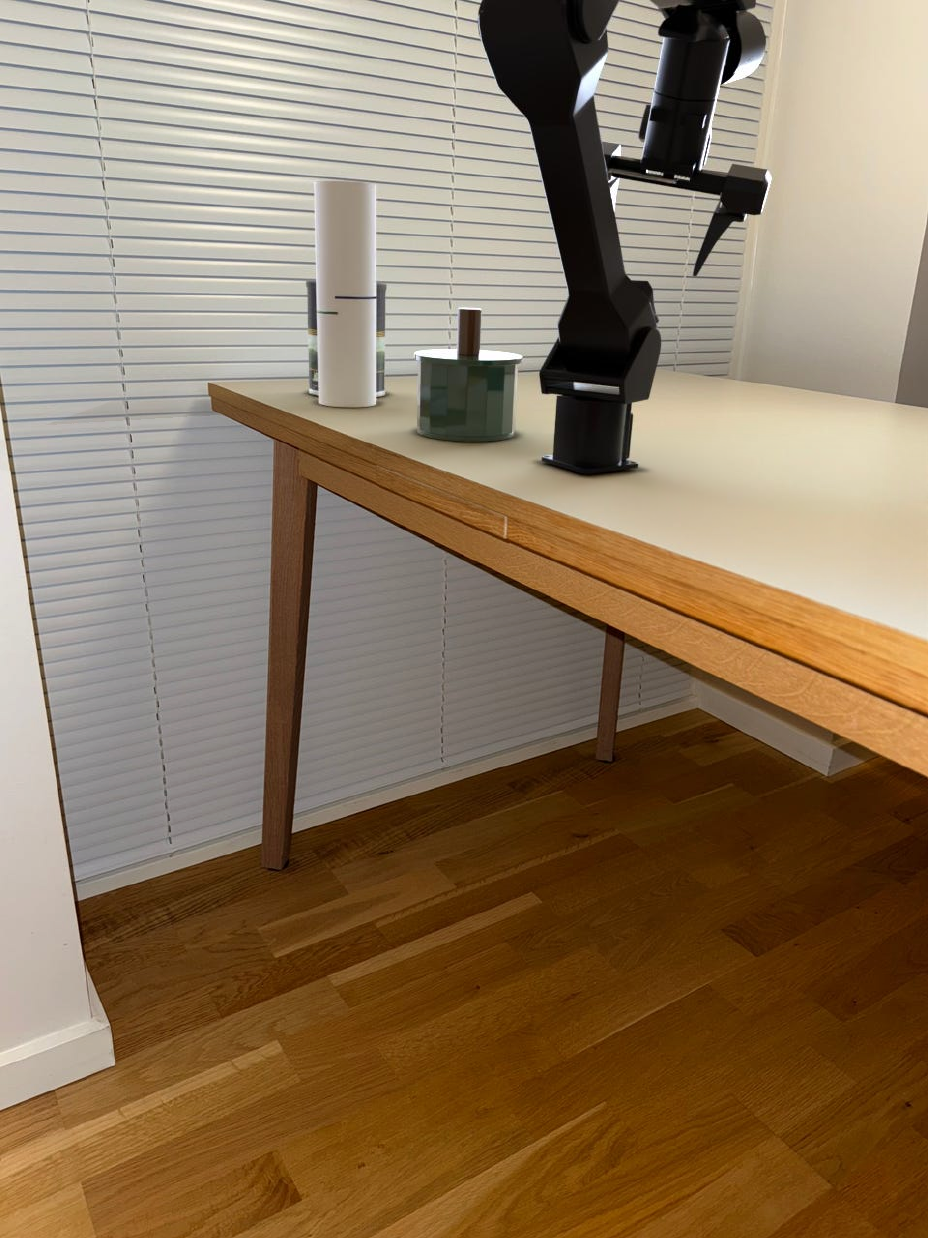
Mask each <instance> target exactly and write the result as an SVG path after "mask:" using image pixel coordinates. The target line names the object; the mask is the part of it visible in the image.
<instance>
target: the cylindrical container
mask: <svg viewBox="0 0 928 1238" xmlns="http://www.w3.org/2000/svg"><path fill="white" fill-rule="evenodd" d="M313 190H314V191H313V192H314V194H313V195H314V197H313V198H314V241H315V243H314V244H315V280H316V294H317V310H318V311H328V312H317V341H318V388H319V396H318V404H319V405H322V406H327V407H335V408H367V407H373V406H376V405H377V397H376V298H365V297H375V296H376V283H377V184H375V183H371V182H362V181H350V180H349V181H347V180H317V181H314V182H313ZM343 296H351V297H343Z"/></svg>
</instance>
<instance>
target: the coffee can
mask: <svg viewBox="0 0 928 1238" xmlns="http://www.w3.org/2000/svg"><path fill="white" fill-rule="evenodd" d="M387 285H388V284H387V283H382V282H381V283H380V282H376V296H375V297H365V298H376V398H381V397H383V396H385V395H386V388H385V387H386V294H387V293H386V291H387V287H388V286H387ZM305 287H306V289H307V294H306V295H307V340H308V345H307V346H308V379H309V380H308V384H309V385H308V386H309V389H308V393H309V394H310V395H313V396H317V397H319V388H318V341H317V312H328V311H318V310H317V294H316V279H314V280H306V281H305ZM343 297H351V296H343Z"/></svg>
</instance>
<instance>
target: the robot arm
mask: <svg viewBox="0 0 928 1238" xmlns="http://www.w3.org/2000/svg"><path fill="white" fill-rule="evenodd" d="M648 1H649V2H651V4H653V5H654V6H656V7H657V9H658V11H659V13H661V15H662V17H663V18H664V20H663V21H662V22H661V24H660V25H659V27H658V28H657V35H658V37H661V38H663V40H662V44H661V51H660V56H659V61H658V67H657V72H656V78H655V83H654V89H653V93H652V98H651V99H652V100H651V104H645V106H644V110H643V114H642V117H641V121H640V125H639V129H638V134H637V138H638V140H639V142H640V143H643V148H642V153H641V159H640V158H635V157H629V156H624V155H623V156H622V155H621V154H622V153H621V152H622V151H621V150H622V147H621V144H618V143H612V142H606V141H602V136H601V130H600V125H599V119H598V115H597V108H596V102H595V92H596V89H597V86H598V83H599V80H600V77H601V75H602V71H603V69H604V65H605V63H606V61H607V57H608V55H609V39H608V38H609V37H608V26H609V23H610V22H611V19H612V17H613V15H614V14H615V11H616V9H617V7H618V5H619V3H620V0H481V2H480V5H479V7H478V13H477V28H478V35H479V38H480V41H481V44H482V48H483V50H484V53H485V56H486V58H487V62H488V64H489V67H490V69H491V72H492V75H493V78H494V80H495V84H496V86H497V87H498V89H499V90H500V91H501V92H502V93H503V95H504V96H505V97H506V98H507V99H508V100H509V102H510V103H511V104H512V105H513V106H514V107H515V108H516V109H517V110H518V111H519V112H520V113H521V115H522V116H523V117H524V119H526V120H527V123H528V127H529V130H530V131H529V132H530V135H531V140H532V143H533V147H534V152H535V157H536V161H537V164H538V170H539V174H540V178H541V182H542V187H543V191H544V194H545V199H546V203H547V207H548V212H549V216H550V220H551V225H552V229H553V234H554V238H555V241H556V242H555V243H556V247H557V250H558V256H559V259H560V263H561V267H562V272H563V276H564V280H565V281H564V282H565V284H566V290H567V297H566V300H565V303H564V305H563V308H562V311H561V313H560V315H559V318H558V321H557V324H556V325H557V326H556V327H557V334H558V336H557V338H556V340H555V342H554V344H553V346H552V347H551V349H550V351H549V353H548V355H547V356H546V358H545V360H544V362H543V364H542V366H541V368H540V369H539V374H538V375H539V376H538V377H539V385H540V392H541V394H542V395H556V399H555V415H554V428H553V429H554V430H553V445H552V454H547V455H541V462H542V463H546V464H550V465H553V466H555V467H560V468H562V469H566V470H569V471H572V472H576V473H579V474H583V475H584V474H585V475H591V474H600V473H608V472H616V471H625V470H634V469H639V462H637V461H633V460H630V455H631V443H632V436H633V435H632V434H633V425H634V414H633V412H632V409H633V408H632V407H633V403H638V402H642V401H648V400H649V399H650V395H651V391H652V388H653V384H654V380H655V376H656V371H657V368H658V363H659V360H660V356H661V351H662V335H661V332H660V330H659V328H658V325H657V324H659V322H660V318H659V317H658V314H657V311H656V307H655V297H654V295H655V294H654V289H653V287H652V285H651V283H650V282H649V280H638V279H636V280H635V279H631V278H630V277H629V276H628V275H627V272H626V268H625V263H624V258H623V252H622V251H623V250H622V246H621V241H620V236H619V229H618V224H617V219H616V218H617V217H616V213H615V211H616V209H615V208H616V197H617V192H618V188H619V182H620V179H622V180H623V179H624V180H628V181H635V182H640V183H646V184H651V185H658V186H663V187H667V188H668V187H669V188H675V189H679V190H684V191H685V190H687V191H691V192H696V193H703V194H708V195H713V196H719V200H718V203H717V205H716V207H715V209H714V211H713V213H712V215H711V219H710V222H709V224H708V227H707V230H706V231H705V235H704V238H703V240H702V243H701V246H700V248H699V251H698V253H697V257H696V259H695V262H694V267H693V270H692V271H693V272H692V276H693V277H697V276H698V274H699V273H700V272H701V270H702V267H704V264H705V263H706V261H707V259H708V257H709V256H710V254H711V252H712V251H713V249H714V247H715V246H716V244H717V243H718V241H719V240H720V239H721V237H722V236H723V235H724V233H725V232H727V230H728V229H729V227H730V226H731V225H732V223H735V222H736V223H744V222H745V220H746V218H747V215H750V216H761V215H762V213H763V209H764V205H765V203H766V201H767V196H768V193H769V192H768V191H769V189H770V185H771V181H772V175H771V174H770V172H769V170H768V169H766V168H761V167H755V166H749V165H742V164H737V163H731V165H730V167H729V170H728V172H727V173H722V172H716V171H710V170H706V169H702V167H703V166H704V167H705V165H706V163H707V159H708V155H709V151H710V145H711V141H712V121H713V118H714V114H715V109H716V104H717V100H718V96H719V91H720V87H721V86H722V85H725V84H728V83H732V82H734V81H736V80H741V79H743V78H746V77H748V76H749V75H751V74H752V73H753V72H754V71H755V70H756V69H757V68H758V67H759V65H760V63H761V61H762V60H763V57H764V55H765V52H766V46H767V35H766V33H765V29H764V26H763V23H761V21H760V19H759V18H758V17H757V16H756V15H755V14H754V13H751V12H750V11H751V10H754V9H756V5H757V0H648ZM658 173H659V174H658ZM679 177H680V178H679ZM686 178H687V179H686Z"/></svg>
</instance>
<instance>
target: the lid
mask: <svg viewBox="0 0 928 1238" xmlns="http://www.w3.org/2000/svg"><path fill="white" fill-rule="evenodd" d="M482 313H483V309H482V308H478V307H477V308H476V307H458V308H457V335H456V336H457V337H456V349H452V348H451V349H446V348H445V349H444V348H443V349H425V350H418V351H417V350H416V351H415V352H414V353H413V359H414V360H415V361H417V362H418V361H421V362H426V363H433V364H443V365H457V366H510V365H517V364H518V365H521V364H522V363H523V356H522V355H521V354H517V353H513V352H504V351H496V350H482V349H481V341H482V340H481V339H482V338H481V337H482V317H483V315H482Z"/></svg>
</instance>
